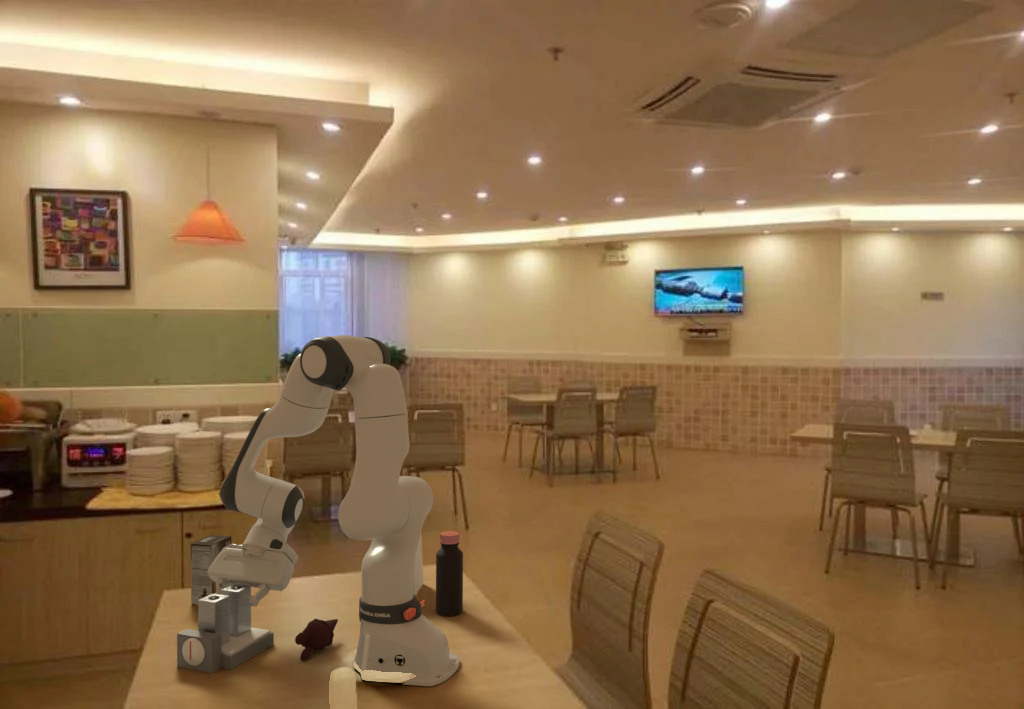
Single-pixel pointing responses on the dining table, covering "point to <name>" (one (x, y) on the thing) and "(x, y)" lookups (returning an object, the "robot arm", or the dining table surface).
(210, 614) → the post
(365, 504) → the robot arm
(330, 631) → the icecream
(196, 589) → the coffee box
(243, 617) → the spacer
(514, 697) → the dining table surface
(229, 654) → the scale
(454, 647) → the dining table surface
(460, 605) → the bottle
